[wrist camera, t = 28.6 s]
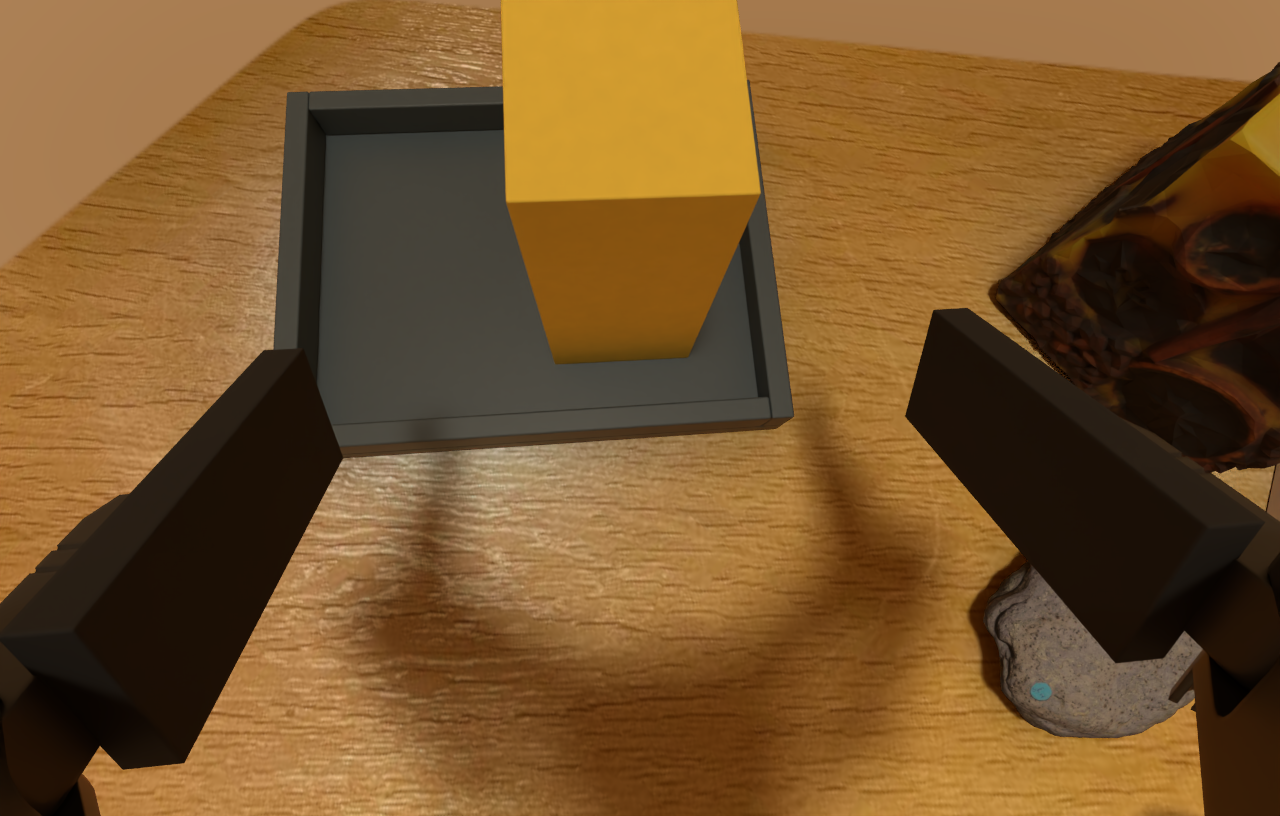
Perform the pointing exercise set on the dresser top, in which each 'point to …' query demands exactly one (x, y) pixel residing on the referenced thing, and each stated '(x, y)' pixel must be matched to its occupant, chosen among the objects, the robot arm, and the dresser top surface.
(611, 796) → the dresser top surface
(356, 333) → the tray
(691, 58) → the yellow block
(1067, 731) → the stone
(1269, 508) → the plaque
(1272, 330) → the candle
